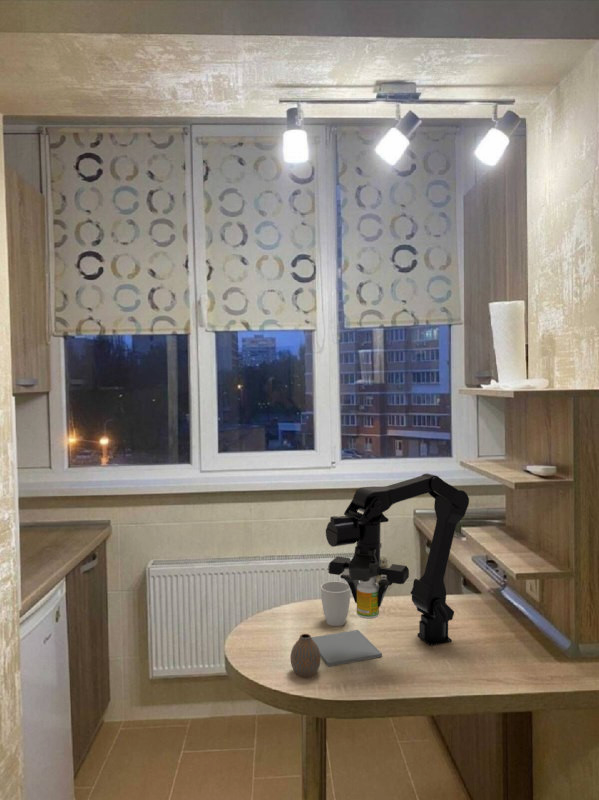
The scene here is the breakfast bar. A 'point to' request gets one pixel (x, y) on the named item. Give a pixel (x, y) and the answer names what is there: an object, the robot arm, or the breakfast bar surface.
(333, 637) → the slate mat
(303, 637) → the vase
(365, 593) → the supplement bottle
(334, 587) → the cup
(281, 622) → the breakfast bar surface
